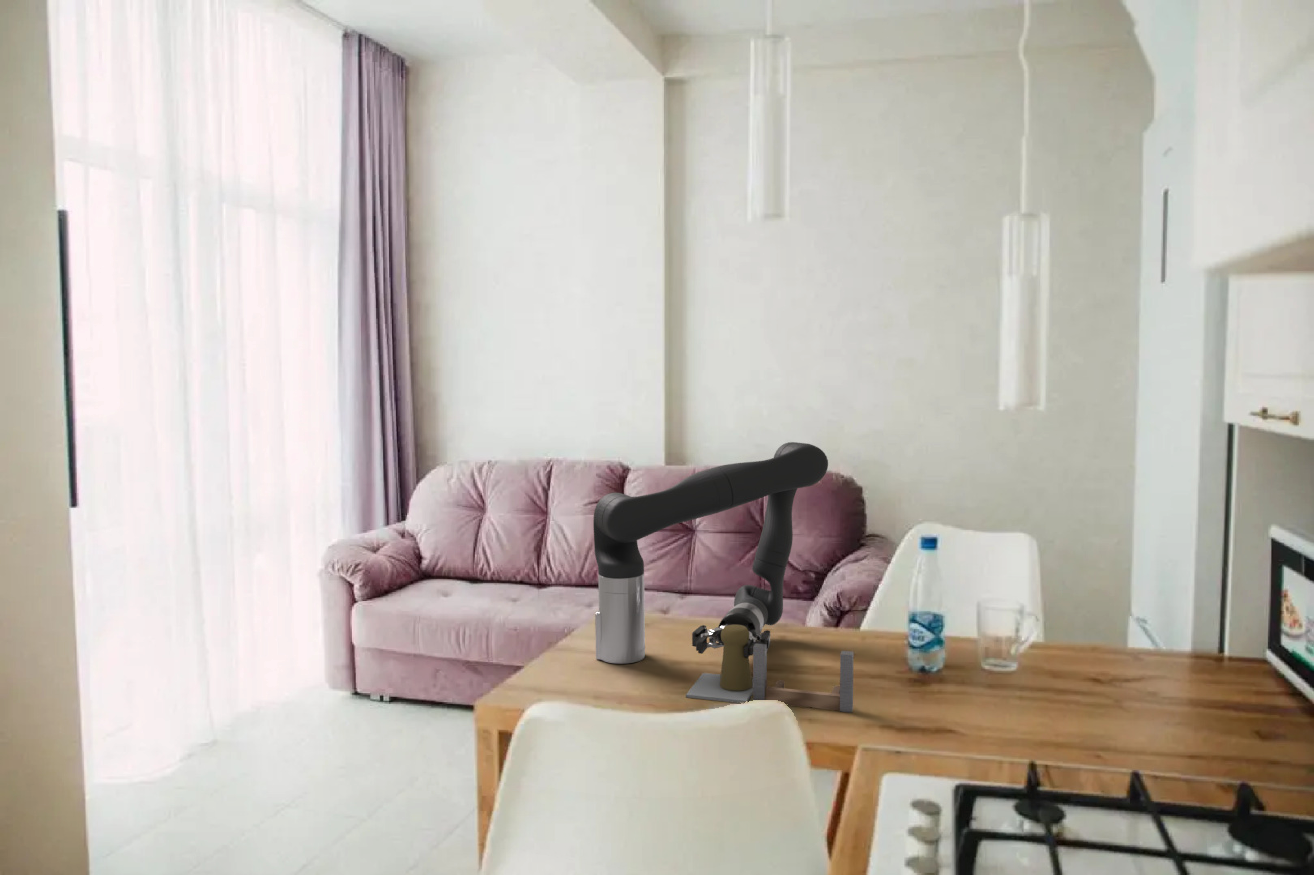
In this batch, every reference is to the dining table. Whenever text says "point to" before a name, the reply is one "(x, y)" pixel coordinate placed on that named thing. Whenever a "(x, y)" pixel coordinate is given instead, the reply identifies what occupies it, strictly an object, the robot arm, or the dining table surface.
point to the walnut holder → (822, 700)
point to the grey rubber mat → (716, 690)
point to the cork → (735, 659)
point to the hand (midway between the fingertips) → (722, 650)
